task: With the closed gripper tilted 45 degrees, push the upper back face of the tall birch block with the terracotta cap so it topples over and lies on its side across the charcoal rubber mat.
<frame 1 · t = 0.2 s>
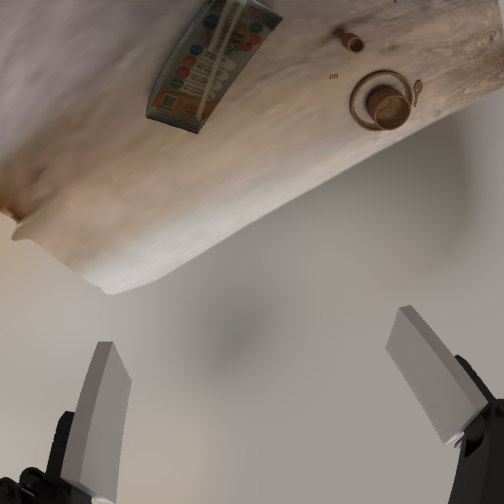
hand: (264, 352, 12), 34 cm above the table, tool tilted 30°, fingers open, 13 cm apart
beverage carton: (205, 50, 29), on the table
place setting: (378, 77, 35), on the table
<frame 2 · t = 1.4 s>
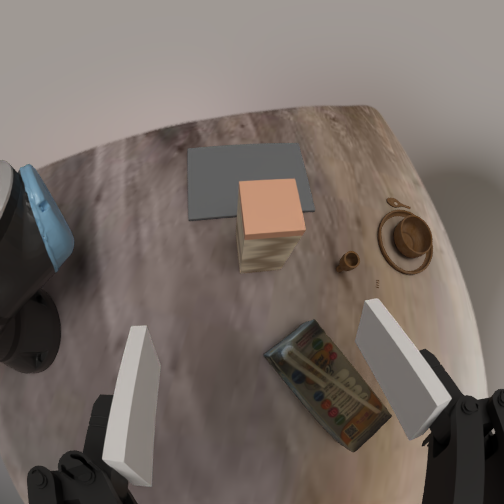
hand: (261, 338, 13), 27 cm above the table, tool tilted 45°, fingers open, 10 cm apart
beverage carton: (321, 385, 37), on the table
place setting: (383, 241, 46), on the table
rubber mat: (248, 178, 47), on the table
birch block: (257, 252, 43), on the table
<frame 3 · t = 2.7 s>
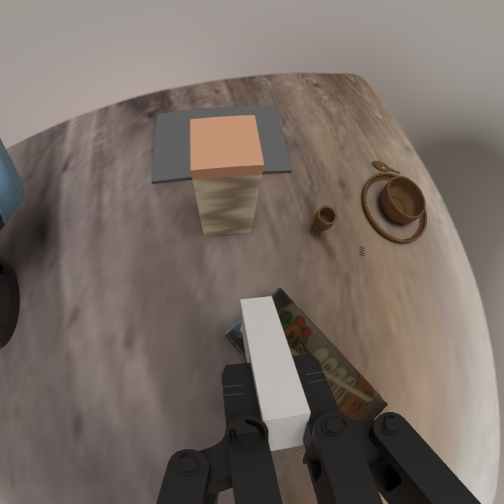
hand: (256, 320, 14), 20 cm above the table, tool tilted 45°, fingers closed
beverage carton: (299, 371, 32), on the table
place setting: (369, 205, 41), on the table
rubber mat: (218, 139, 41), on the table
birch block: (225, 214, 38), on the table
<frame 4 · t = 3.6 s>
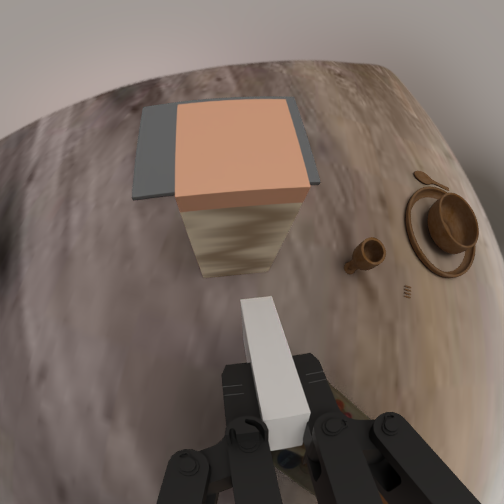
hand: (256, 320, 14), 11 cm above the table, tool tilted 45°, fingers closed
beverage carton: (328, 446, 22), on the table
place setting: (412, 229, 30), on the table
rubber mat: (222, 139, 31), on the table
birch block: (232, 244, 27), on the table
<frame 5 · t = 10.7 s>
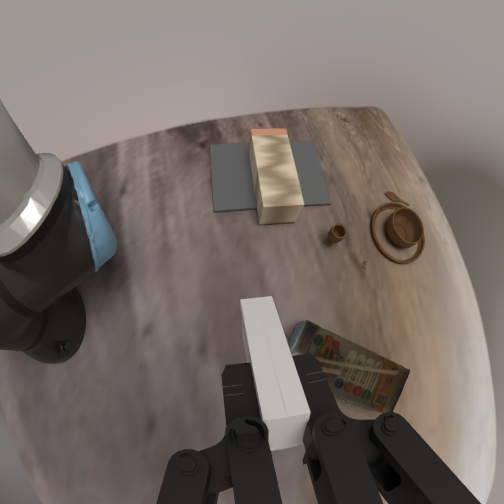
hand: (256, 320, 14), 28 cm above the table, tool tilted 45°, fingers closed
beverage carton: (336, 369, 40), on the table
place setting: (377, 228, 49), on the table
rubber mat: (268, 173, 50), on the table
birch block: (280, 215, 43), point 4 cm above the table, tilted 90°, touching rubber mat
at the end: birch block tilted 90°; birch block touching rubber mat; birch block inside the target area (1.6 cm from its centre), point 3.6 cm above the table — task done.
